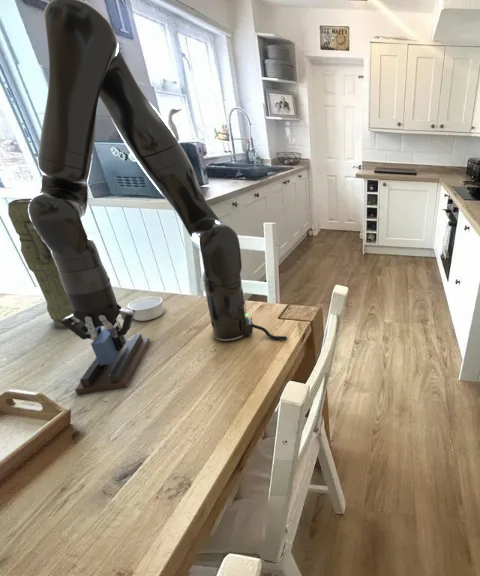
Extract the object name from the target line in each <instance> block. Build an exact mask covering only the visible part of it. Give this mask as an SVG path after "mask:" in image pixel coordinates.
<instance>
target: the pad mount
mask: <svg viewBox="0 0 480 576" xmlns="http://www.w3.org/2000/svg"><path fill="white" fill-rule="evenodd" d="M125 340H126V343H125V345H124V346H123V348H122V349H121V351H120V352H119V354H118V356H117V357H116V359H115V360H114V362H113V363H112V364H108V365H99V362H98V360H97V357H96V356H95V358H94V359H93V361H92V362H91V364H90V366H89V367H88V368H87V370H86V371H85V372H84V374H83V375H82V377H81V378H80V379H79V381H80V382H79V384H78V385H77V386H76V388H75V389H74V390H75V393H76V395H86V394H93V393H98V392H99V393H100V392H106V391H112V390H118V389H125V388H127V387H128V385H129V383H130V381H131V379H132V377H133V375H134V374H135V372H136V370H137V368H138V366H139V364H140V362H141V360H142V358H143V357H144V354H145V353H146V351H147V349H148V347H149V345H150V343H151V341H150V337H143V335H142V333H134V335H133V336H132V338H131V339H125Z"/></svg>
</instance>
